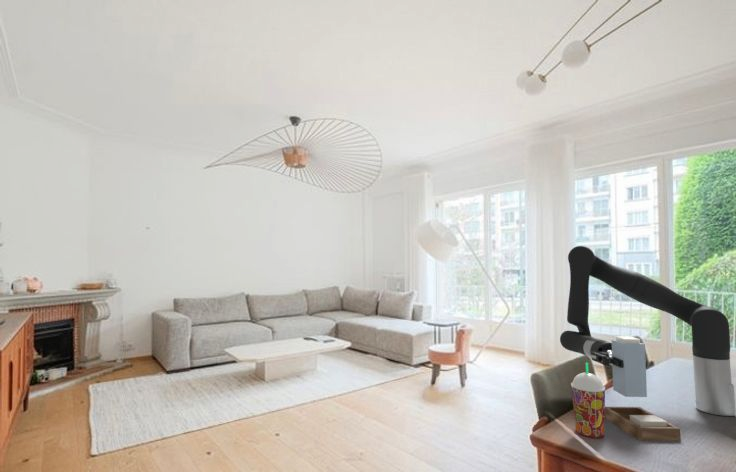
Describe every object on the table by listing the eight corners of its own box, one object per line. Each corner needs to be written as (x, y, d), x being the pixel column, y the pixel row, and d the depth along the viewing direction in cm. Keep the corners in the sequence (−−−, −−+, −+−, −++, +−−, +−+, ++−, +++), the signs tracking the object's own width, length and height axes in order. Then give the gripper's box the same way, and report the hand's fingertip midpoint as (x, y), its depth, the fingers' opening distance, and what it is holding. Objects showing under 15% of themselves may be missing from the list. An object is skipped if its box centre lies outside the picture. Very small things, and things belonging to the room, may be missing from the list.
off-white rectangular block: (630, 429, 110) (629, 415, 111) (655, 429, 110) (654, 415, 110) (641, 436, 106) (640, 421, 106) (667, 436, 106) (666, 421, 106)
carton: (613, 389, 119) (611, 335, 120) (633, 390, 119) (631, 335, 120) (625, 396, 113) (623, 339, 114) (646, 397, 113) (644, 339, 114)
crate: (603, 420, 120) (603, 406, 120) (640, 420, 120) (639, 406, 120) (638, 443, 104) (638, 428, 104) (681, 444, 104) (680, 428, 104)
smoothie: (566, 431, 112) (563, 359, 113) (594, 430, 113) (591, 359, 114) (585, 444, 104) (582, 367, 105) (615, 443, 104) (611, 366, 106)
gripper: (578, 339, 131) (608, 351, 114) (622, 340, 131) (658, 351, 114) (579, 362, 131) (609, 377, 114) (623, 362, 130) (659, 377, 113)
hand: (633, 364), depth 114 cm, fingers closed on carton, 6 cm apart
